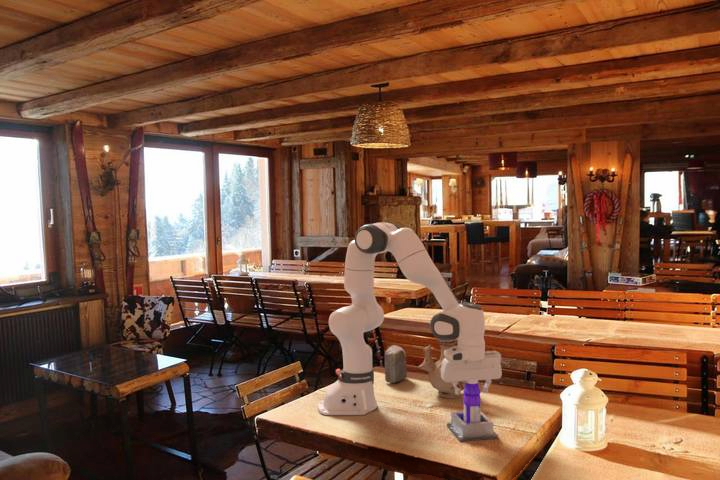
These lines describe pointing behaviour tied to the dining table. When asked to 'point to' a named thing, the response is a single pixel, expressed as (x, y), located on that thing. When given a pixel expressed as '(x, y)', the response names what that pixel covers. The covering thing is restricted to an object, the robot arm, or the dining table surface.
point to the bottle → (472, 402)
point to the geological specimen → (395, 364)
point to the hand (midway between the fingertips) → (471, 393)
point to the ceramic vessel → (435, 371)
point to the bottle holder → (471, 428)
